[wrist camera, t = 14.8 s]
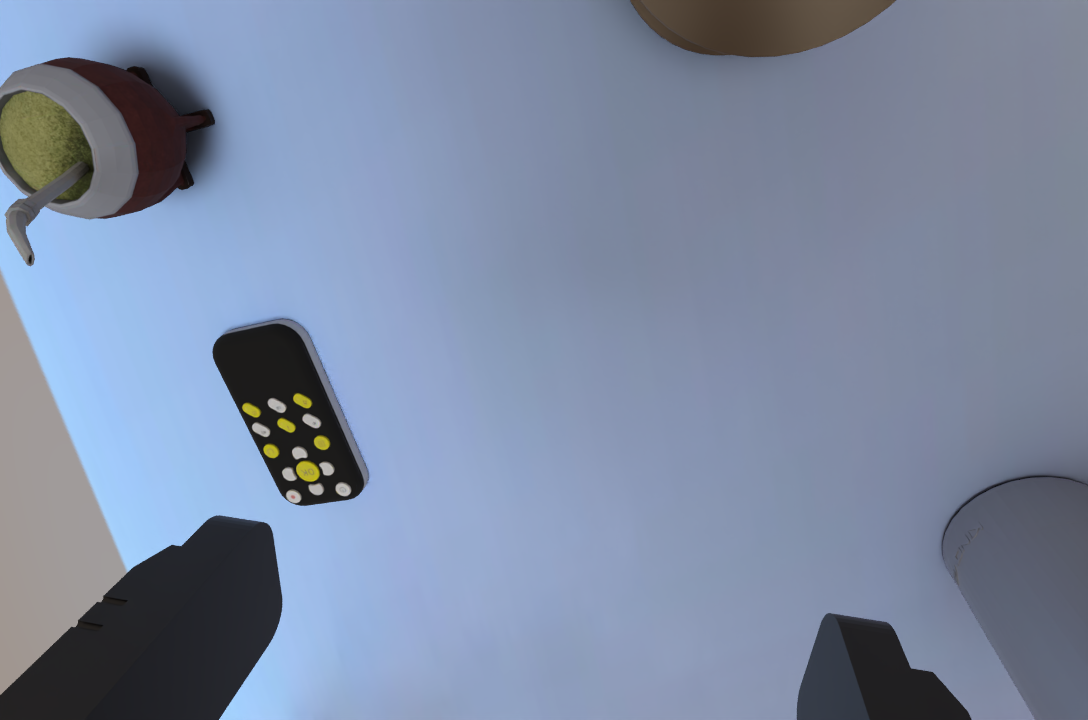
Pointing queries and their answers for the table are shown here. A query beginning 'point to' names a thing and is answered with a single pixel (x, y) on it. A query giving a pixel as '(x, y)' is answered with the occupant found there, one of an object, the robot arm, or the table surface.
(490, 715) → the table surface
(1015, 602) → the robot arm
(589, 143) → the table surface
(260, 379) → the remote control
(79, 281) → the table surface
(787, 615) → the table surface
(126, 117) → the mate gourd
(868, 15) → the bobbin
